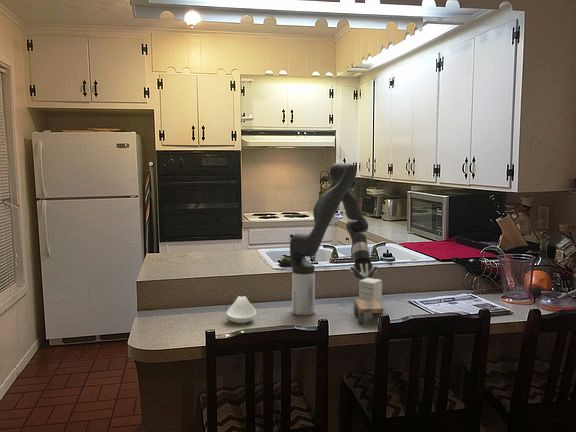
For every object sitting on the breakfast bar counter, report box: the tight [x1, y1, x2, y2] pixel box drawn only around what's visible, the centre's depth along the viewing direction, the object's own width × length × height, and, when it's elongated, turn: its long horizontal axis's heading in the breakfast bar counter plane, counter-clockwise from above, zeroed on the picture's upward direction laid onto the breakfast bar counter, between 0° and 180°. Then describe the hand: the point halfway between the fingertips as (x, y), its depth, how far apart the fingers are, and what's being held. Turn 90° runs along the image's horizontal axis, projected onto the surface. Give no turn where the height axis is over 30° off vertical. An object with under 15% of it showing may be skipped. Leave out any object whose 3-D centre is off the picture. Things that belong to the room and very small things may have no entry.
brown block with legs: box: [353, 298, 384, 325], centre depth 196 cm, size 9×15×7 cm, turn 2°
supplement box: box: [358, 277, 383, 307], centre depth 212 cm, size 7×7×13 cm
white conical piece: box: [226, 295, 257, 324], centre depth 202 cm, size 24×12×7 cm, turn 5°
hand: (366, 285), depth 222 cm, fingers closed
